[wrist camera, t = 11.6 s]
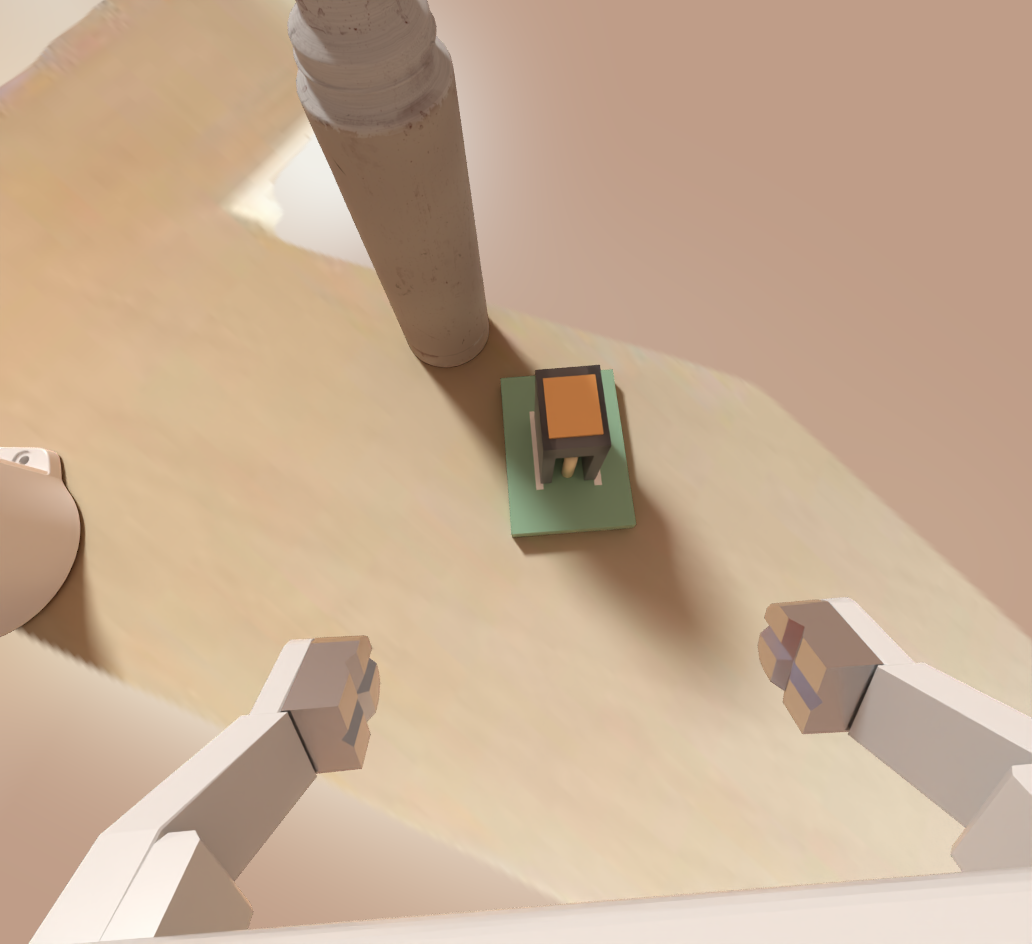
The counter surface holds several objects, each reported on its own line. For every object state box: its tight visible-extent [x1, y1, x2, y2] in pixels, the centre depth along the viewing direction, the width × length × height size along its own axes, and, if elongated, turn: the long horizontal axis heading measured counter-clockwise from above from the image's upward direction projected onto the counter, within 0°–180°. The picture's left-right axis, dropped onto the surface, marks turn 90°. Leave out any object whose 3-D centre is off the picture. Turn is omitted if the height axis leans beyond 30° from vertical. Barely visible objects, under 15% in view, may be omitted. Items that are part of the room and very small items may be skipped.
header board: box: [500, 369, 636, 537], centre depth 38 cm, size 14×10×6 cm
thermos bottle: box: [288, 0, 489, 367], centre depth 31 cm, size 8×8×28 cm
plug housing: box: [534, 365, 611, 484], centre depth 35 cm, size 6×4×8 cm
